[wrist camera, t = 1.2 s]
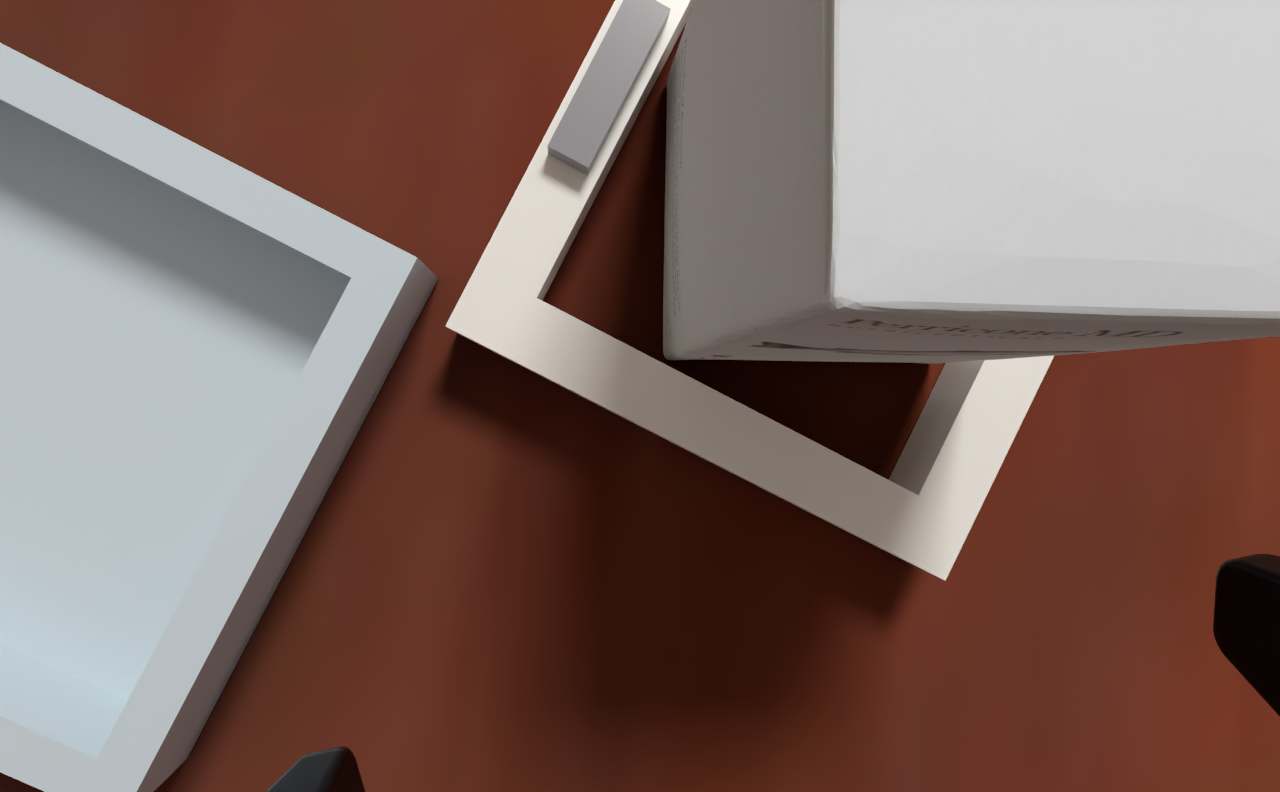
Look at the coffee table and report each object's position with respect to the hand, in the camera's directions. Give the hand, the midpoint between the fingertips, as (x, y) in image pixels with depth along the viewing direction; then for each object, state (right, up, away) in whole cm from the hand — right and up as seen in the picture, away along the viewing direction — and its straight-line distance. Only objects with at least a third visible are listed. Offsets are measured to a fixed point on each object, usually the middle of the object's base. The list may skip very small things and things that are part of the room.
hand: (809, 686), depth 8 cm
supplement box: (+2, +7, +13) cm, 15 cm away
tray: (-15, +3, +11) cm, 19 cm away
